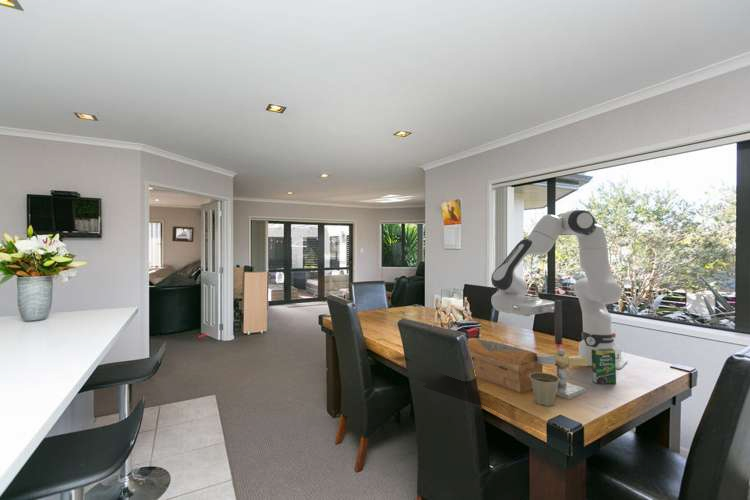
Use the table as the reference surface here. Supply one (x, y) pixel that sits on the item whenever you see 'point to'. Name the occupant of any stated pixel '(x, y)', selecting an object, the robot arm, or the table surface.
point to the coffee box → (603, 366)
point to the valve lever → (558, 326)
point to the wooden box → (503, 364)
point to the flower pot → (544, 388)
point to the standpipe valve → (564, 372)
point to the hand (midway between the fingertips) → (555, 310)
